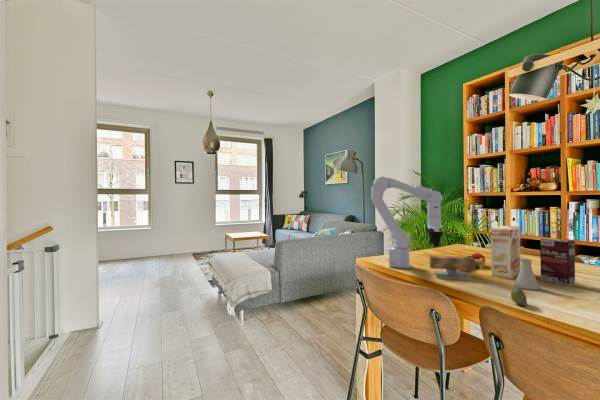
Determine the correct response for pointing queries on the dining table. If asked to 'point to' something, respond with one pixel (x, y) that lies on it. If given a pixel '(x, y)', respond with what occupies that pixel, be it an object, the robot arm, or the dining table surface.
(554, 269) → the supplement box
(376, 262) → the dining table surface
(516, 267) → the coffeecake box
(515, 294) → the lime
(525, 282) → the flask
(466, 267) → the beam
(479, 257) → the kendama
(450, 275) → the fulcrum
